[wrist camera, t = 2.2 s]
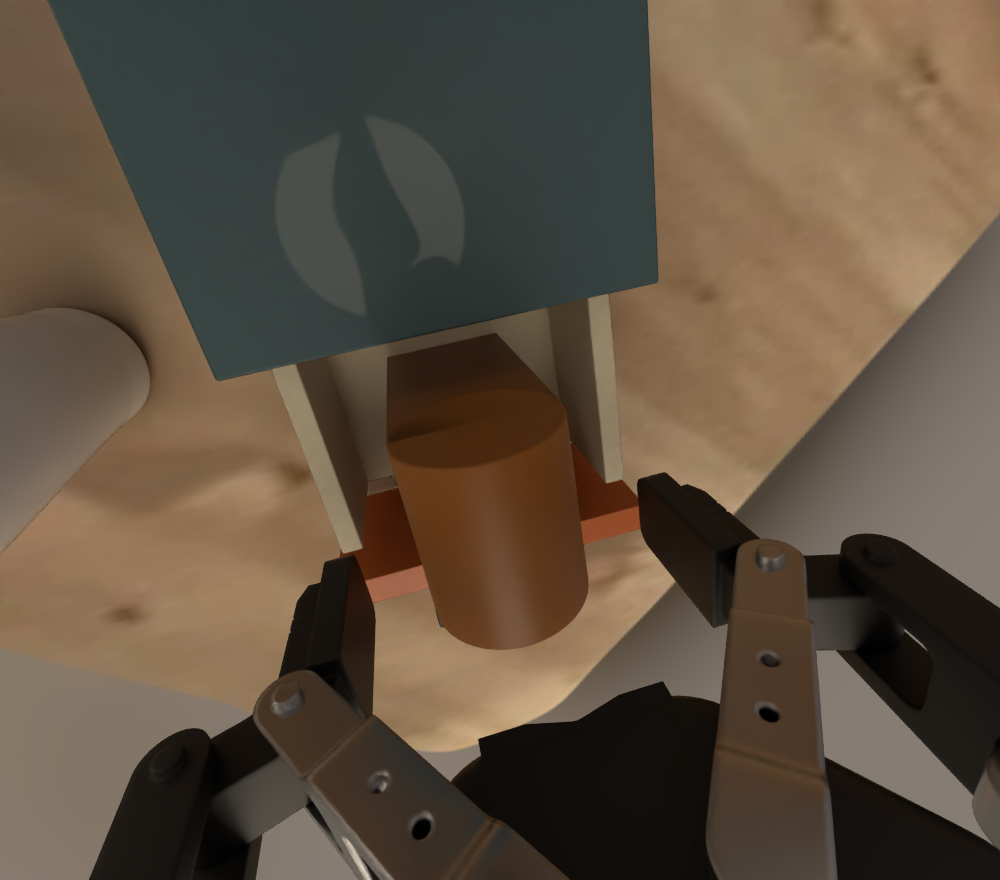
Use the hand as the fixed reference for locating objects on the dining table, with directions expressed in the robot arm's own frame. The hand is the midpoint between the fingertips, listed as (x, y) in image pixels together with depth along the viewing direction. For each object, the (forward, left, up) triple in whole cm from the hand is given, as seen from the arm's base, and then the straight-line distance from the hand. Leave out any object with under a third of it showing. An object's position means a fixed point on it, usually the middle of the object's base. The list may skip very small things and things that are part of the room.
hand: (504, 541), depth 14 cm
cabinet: (-10, -8, -13) cm, 18 cm away
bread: (0, 0, -11) cm, 11 cm away
